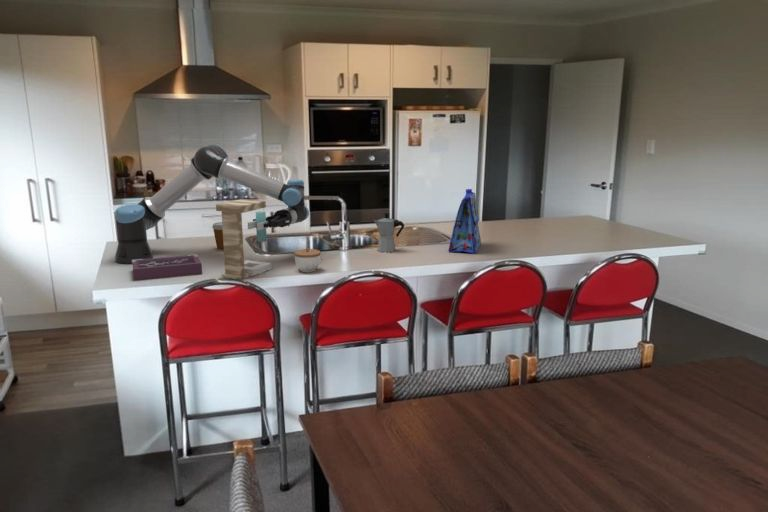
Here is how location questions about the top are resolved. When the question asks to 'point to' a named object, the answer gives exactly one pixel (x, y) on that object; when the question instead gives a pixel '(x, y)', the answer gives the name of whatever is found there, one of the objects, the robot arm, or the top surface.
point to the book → (166, 267)
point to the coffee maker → (387, 233)
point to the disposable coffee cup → (218, 235)
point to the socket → (255, 267)
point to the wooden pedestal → (235, 234)
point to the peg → (262, 233)
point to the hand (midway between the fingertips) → (253, 226)
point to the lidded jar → (307, 259)
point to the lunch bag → (466, 226)
